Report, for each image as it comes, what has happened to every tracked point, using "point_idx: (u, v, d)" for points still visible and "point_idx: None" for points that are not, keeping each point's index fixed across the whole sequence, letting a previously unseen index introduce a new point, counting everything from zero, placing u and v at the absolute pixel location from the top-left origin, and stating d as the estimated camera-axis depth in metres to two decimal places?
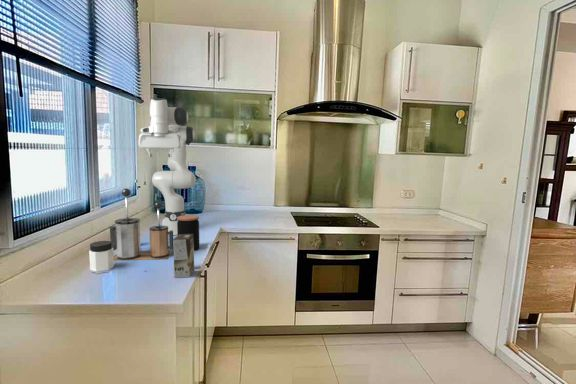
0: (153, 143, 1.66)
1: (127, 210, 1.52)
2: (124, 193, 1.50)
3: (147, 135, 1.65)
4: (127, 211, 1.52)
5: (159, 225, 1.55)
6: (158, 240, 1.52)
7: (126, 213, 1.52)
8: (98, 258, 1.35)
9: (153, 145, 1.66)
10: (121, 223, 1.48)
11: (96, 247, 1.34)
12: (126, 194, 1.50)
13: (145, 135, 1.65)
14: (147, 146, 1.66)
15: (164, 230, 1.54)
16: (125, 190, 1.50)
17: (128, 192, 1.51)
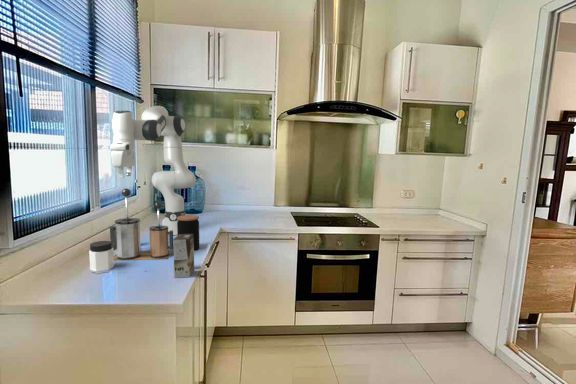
0: (126, 161, 1.47)
1: (127, 210, 1.52)
2: (124, 193, 1.50)
3: (126, 153, 1.45)
4: (127, 211, 1.52)
5: (159, 225, 1.55)
6: (158, 240, 1.52)
7: (126, 213, 1.52)
8: (98, 258, 1.35)
9: (126, 163, 1.47)
10: (121, 223, 1.48)
11: (96, 247, 1.34)
12: (126, 194, 1.50)
13: (124, 153, 1.44)
14: (124, 165, 1.45)
15: (164, 230, 1.54)
16: (125, 190, 1.50)
17: (128, 192, 1.51)
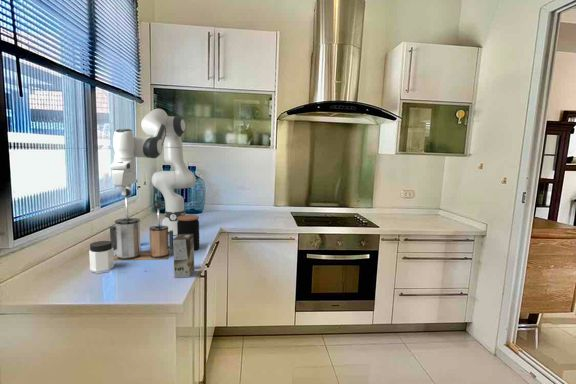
0: (127, 180, 1.48)
1: (127, 210, 1.52)
2: None
3: (126, 171, 1.46)
4: (127, 211, 1.52)
5: (159, 225, 1.55)
6: (158, 240, 1.52)
7: (126, 213, 1.52)
8: (98, 258, 1.35)
9: (127, 182, 1.48)
10: (121, 223, 1.48)
11: (96, 247, 1.34)
12: None
13: (125, 172, 1.44)
14: (125, 184, 1.46)
15: (164, 230, 1.54)
16: None
17: (128, 192, 1.51)
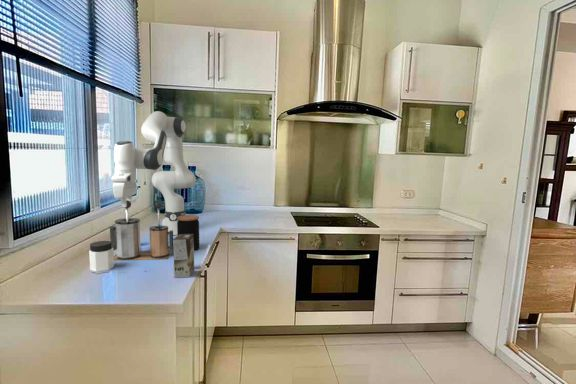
0: (128, 192, 1.49)
1: None
2: None
3: (127, 184, 1.46)
4: None
5: (159, 225, 1.55)
6: (158, 240, 1.52)
7: None
8: (98, 258, 1.35)
9: (128, 194, 1.49)
10: (121, 223, 1.48)
11: (96, 247, 1.34)
12: (127, 206, 1.51)
13: (126, 184, 1.45)
14: (126, 196, 1.46)
15: (164, 230, 1.54)
16: None
17: (128, 204, 1.51)
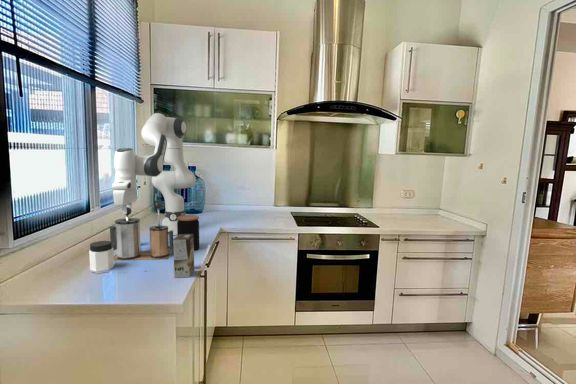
0: (128, 199, 1.49)
1: None
2: None
3: (127, 191, 1.47)
4: None
5: (159, 225, 1.55)
6: (158, 240, 1.52)
7: None
8: (98, 258, 1.35)
9: (128, 201, 1.49)
10: (121, 223, 1.48)
11: (96, 247, 1.34)
12: (127, 213, 1.51)
13: (126, 191, 1.45)
14: (126, 203, 1.47)
15: (164, 230, 1.54)
16: None
17: (129, 211, 1.52)
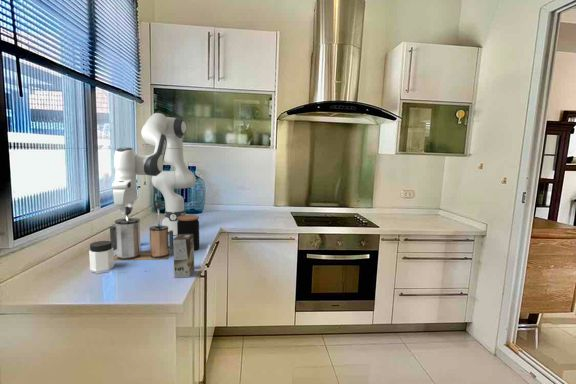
0: (128, 198, 1.49)
1: None
2: None
3: (127, 190, 1.47)
4: None
5: (159, 225, 1.55)
6: (158, 240, 1.52)
7: None
8: (98, 258, 1.35)
9: (128, 200, 1.49)
10: (121, 223, 1.48)
11: (96, 247, 1.34)
12: (127, 212, 1.51)
13: (126, 191, 1.45)
14: (126, 203, 1.47)
15: (164, 230, 1.54)
16: (126, 208, 1.51)
17: (129, 210, 1.52)
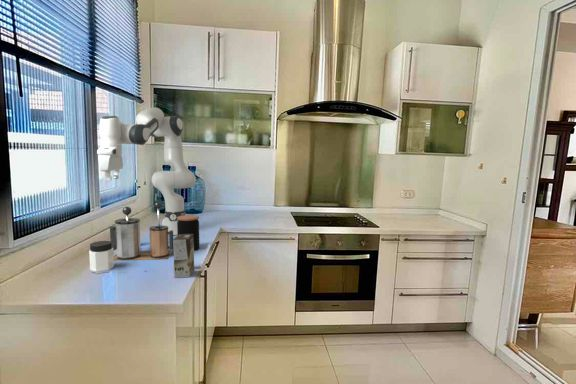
0: (113, 165, 1.53)
1: None
2: (125, 211, 1.51)
3: (113, 157, 1.50)
4: None
5: (159, 225, 1.55)
6: (158, 240, 1.52)
7: None
8: (98, 258, 1.35)
9: (114, 167, 1.53)
10: (121, 223, 1.48)
11: (96, 247, 1.34)
12: (127, 212, 1.51)
13: (111, 157, 1.49)
14: (111, 169, 1.50)
15: (164, 230, 1.54)
16: (126, 208, 1.51)
17: (129, 210, 1.52)
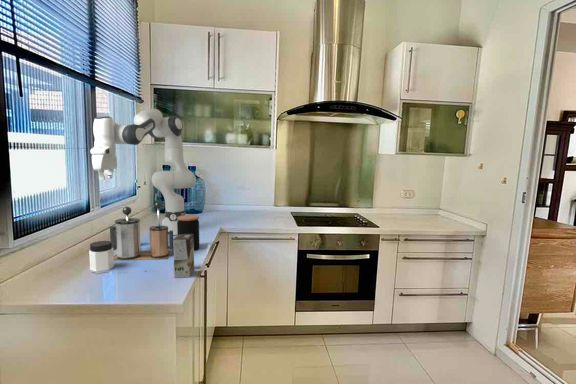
0: (107, 164, 1.55)
1: None
2: (125, 211, 1.51)
3: (106, 156, 1.53)
4: None
5: (159, 225, 1.55)
6: (158, 240, 1.52)
7: None
8: (98, 258, 1.35)
9: (107, 166, 1.56)
10: (121, 223, 1.48)
11: (96, 247, 1.34)
12: (127, 212, 1.51)
13: (105, 157, 1.52)
14: (105, 168, 1.53)
15: (164, 230, 1.54)
16: (126, 208, 1.51)
17: (129, 210, 1.52)
